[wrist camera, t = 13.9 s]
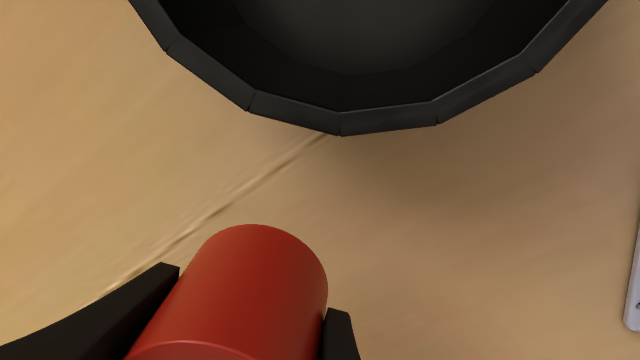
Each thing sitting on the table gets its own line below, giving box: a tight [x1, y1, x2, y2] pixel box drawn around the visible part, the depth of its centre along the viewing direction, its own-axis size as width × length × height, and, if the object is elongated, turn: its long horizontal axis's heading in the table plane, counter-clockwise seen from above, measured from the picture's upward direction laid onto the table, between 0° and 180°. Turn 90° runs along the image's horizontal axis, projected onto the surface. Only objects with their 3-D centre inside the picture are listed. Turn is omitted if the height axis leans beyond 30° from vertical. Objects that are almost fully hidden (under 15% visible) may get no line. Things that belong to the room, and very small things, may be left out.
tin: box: [122, 224, 328, 360], centre depth 12 cm, size 5×5×5 cm
